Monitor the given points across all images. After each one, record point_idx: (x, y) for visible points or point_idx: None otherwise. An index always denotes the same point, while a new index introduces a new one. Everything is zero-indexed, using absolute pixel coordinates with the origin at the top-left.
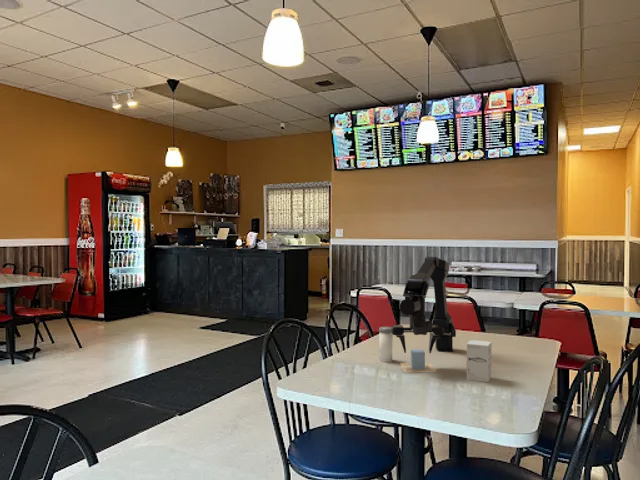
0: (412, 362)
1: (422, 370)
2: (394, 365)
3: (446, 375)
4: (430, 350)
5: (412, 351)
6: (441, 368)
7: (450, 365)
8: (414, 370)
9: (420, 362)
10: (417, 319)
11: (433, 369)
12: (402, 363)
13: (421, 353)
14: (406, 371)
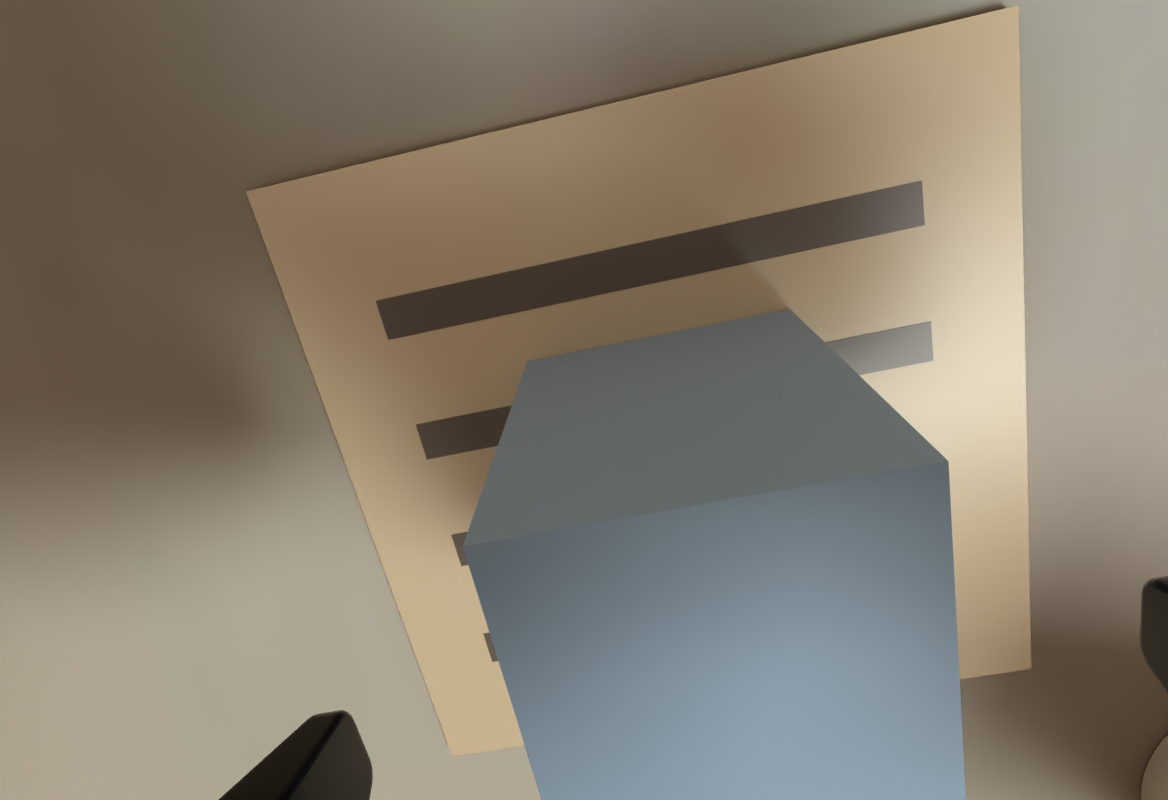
0: (831, 361)
1: (569, 233)
2: (1145, 535)
3: (15, 9)
4: (280, 773)
5: (930, 644)
6: (231, 519)
7: (124, 721)
8: (748, 191)
9: (621, 392)
10: None
11: (351, 370)
12: (977, 652)
13: (588, 511)
14: (944, 53)
